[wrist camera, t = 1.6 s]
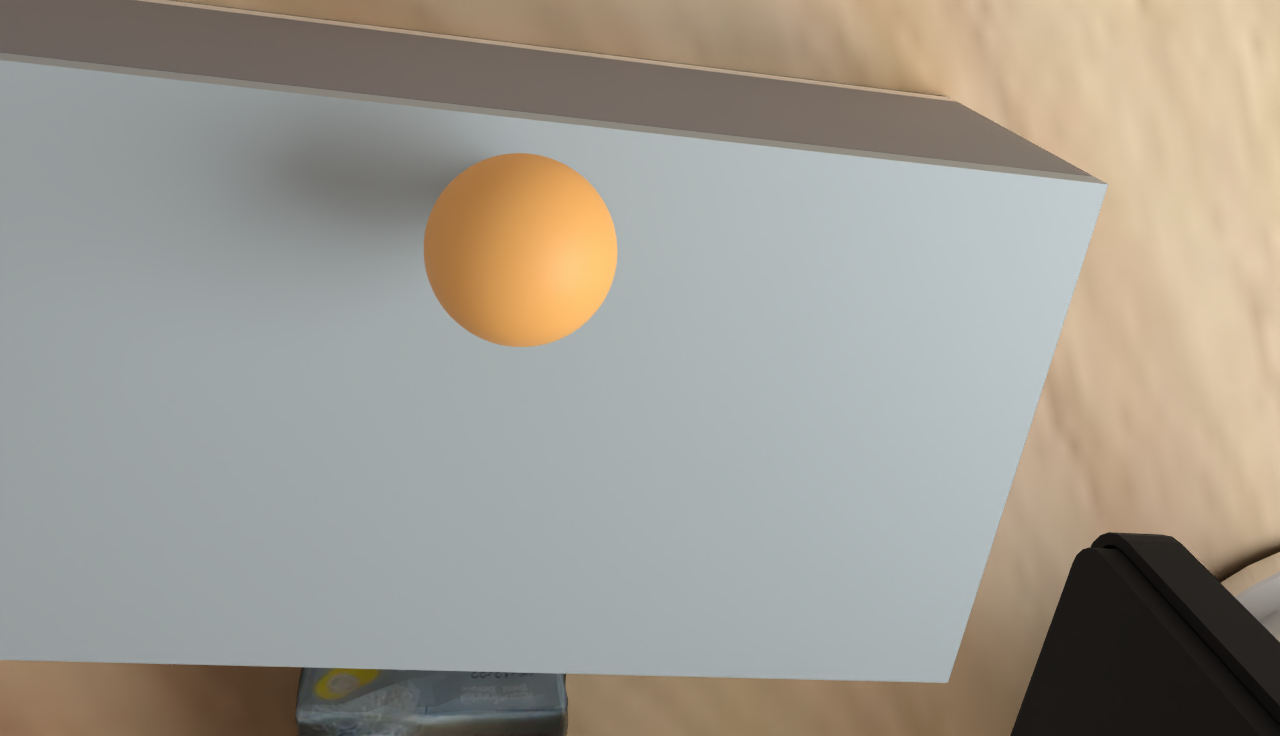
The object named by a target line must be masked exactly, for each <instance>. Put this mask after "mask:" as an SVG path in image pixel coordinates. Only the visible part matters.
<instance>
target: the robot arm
mask: <svg viewBox="0 0 1280 736" xmlns="http://www.w3.org/2000/svg"><path fill="white" fill-rule="evenodd" d="M1011 736H1280V552H1278V553H1276V554H1274V555H1271V556H1269V557H1267V558H1264V559H1262V560H1260V561H1258V562H1255V563H1253V564H1251V565H1249V566H1247V567H1245V568H1244V569H1242V570H1240V571H1239V572H1237V573H1235V574H1234V575H1232V576H1230V577H1229V578H1227V579H1225V580H1224V581H1222V582H1221V583H1220V582H1219V581H1218V580H1217V579H1216V578H1215V577H1214V576H1213V575H1212V574H1211V573H1210V572H1209V571H1208V570H1207V569H1206V568H1205V567H1204V566H1203V565H1202V564H1201V563H1200V562H1199V561H1198V560H1197V559H1196V558H1195V557H1194V556H1193V555H1192V554H1191V553H1190V552H1189V551H1188V550H1187V549H1186V548H1185V547H1184V546H1183V545H1182V544H1181V543H1180V542H1178V541H1177V540H1176V539H1174V538H1173V537H1171V536H1166V535H1155V534H1132V533H1110V532H1109V533H1106V534H1103V535H1100V536H1099V537H1098V538H1097V539H1096V540H1095V541H1094V542H1093V544H1092V545H1091V547H1090V548H1086V549H1083V550H1082V551H1080V552H1079V553H1078V554H1077V556H1076V558H1075V560H1074V562H1073V564H1072V567H1071V569H1070V572H1069V575H1068V578H1067V580H1066V583H1065V586H1064V589H1063V592H1062V594H1061V597H1060V600H1059V603H1058V605H1057V608H1056V611H1055V614H1054V616H1053V619H1052V622H1051V625H1050V628H1049V630H1048V633H1047V636H1046V639H1045V641H1044V644H1043V647H1042V650H1041V653H1040V655H1039V658H1038V661H1037V664H1036V666H1035V669H1034V672H1033V675H1032V677H1031V680H1030V683H1029V686H1028V689H1027V691H1026V694H1025V697H1024V700H1023V702H1022V705H1021V708H1020V711H1019V713H1018V716H1017V719H1016V722H1015V725H1014V727H1013V730H1012V733H1011Z"/></svg>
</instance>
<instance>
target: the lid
mask: <svg viewBox="0 0 1280 736" xmlns="http://www.w3.org/2000/svg"><path fill="white" fill-rule="evenodd" d="M1107 187H1108V184H1106V183H1105V182H1103V181H1101V180H1099V179H1097V178H1095V177H1093V176H1084V175H1075V174H1067V173H1058V172H1049V171H1040V170H1031V169H1023V168H1014V167H1005V166H996V165H987V164H978V163H970V162H961V161H952V160H943V159H934V158H926V157H917V156H908V155H899V154H890V153H881V152H873V151H864V150H855V149H846V148H837V147H829V146H820V145H811V144H802V143H793V142H784V141H776V140H767V139H758V138H749V137H740V136H732V135H723V134H714V133H705V132H696V131H687V130H679V129H670V128H661V127H652V126H643V125H635V124H626V123H617V122H608V121H599V120H591V119H582V118H573V117H564V116H555V115H546V114H538V113H529V112H520V111H511V110H502V109H494V108H485V107H476V106H467V105H458V104H449V103H441V102H432V101H423V100H414V99H405V98H397V97H388V96H379V95H370V94H361V93H352V92H344V91H335V90H326V89H317V88H308V87H300V86H291V85H282V84H273V83H264V82H255V81H247V80H238V79H229V78H220V77H211V76H203V75H194V74H185V73H176V72H167V71H158V70H150V69H141V68H132V67H123V66H114V65H106V64H97V63H88V62H79V61H70V60H61V59H53V58H44V57H35V56H26V55H17V54H9V53H0V660H23V661H64V662H106V663H147V664H188V665H229V666H271V667H312V668H353V669H394V670H436V671H477V672H518V673H560V674H601V675H642V676H683V677H725V678H766V679H807V680H848V681H890V682H931V683H948V681H949V677H950V674H951V671H952V668H953V665H954V662H955V659H956V656H957V653H958V650H959V646H960V643H961V640H962V637H963V634H964V631H965V628H966V625H967V622H968V618H969V615H970V612H971V609H972V606H973V603H974V600H975V597H976V594H977V590H978V587H979V584H980V581H981V578H982V575H983V572H984V569H985V566H986V563H987V559H988V556H989V553H990V550H991V547H992V544H993V541H994V538H995V535H996V531H997V528H998V525H999V522H1000V519H1001V516H1002V513H1003V510H1004V507H1005V503H1006V500H1007V497H1008V494H1009V491H1010V488H1011V485H1012V482H1013V479H1014V476H1015V472H1016V469H1017V466H1018V463H1019V460H1020V457H1021V454H1022V451H1023V448H1024V444H1025V441H1026V438H1027V435H1028V432H1029V429H1030V426H1031V423H1032V420H1033V416H1034V413H1035V410H1036V407H1037V404H1038V401H1039V398H1040V395H1041V392H1042V389H1043V385H1044V382H1045V379H1046V376H1047V373H1048V370H1049V367H1050V364H1051V361H1052V357H1053V354H1054V351H1055V348H1056V345H1057V342H1058V339H1059V336H1060V333H1061V329H1062V326H1063V323H1064V320H1065V317H1066V314H1067V311H1068V308H1069V305H1070V302H1071V298H1072V295H1073V292H1074V289H1075V286H1076V283H1077V280H1078V277H1079V274H1080V270H1081V267H1082V264H1083V261H1084V258H1085V255H1086V252H1087V249H1088V246H1089V242H1090V239H1091V236H1092V233H1093V230H1094V227H1095V224H1096V221H1097V218H1098V215H1099V211H1100V208H1101V205H1102V202H1103V199H1104V196H1105V193H1106V190H1107Z"/></svg>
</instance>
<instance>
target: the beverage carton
mask: <svg viewBox="0 0 1280 736" xmlns="http://www.w3.org/2000/svg"><path fill="white" fill-rule="evenodd" d="M565 677H566V674H560V673H518V672H477V671H436V670H394V669H353V668H312V667H302V672H301V675H300V679H299V686H298V694H297V702H296V712H295V715H296V723H297V731H298V736H567V728H568V711H567V706H568V698H567V694H566V690H565Z"/></svg>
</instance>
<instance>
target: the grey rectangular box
mask: <svg viewBox="0 0 1280 736" xmlns="http://www.w3.org/2000/svg"><path fill="white" fill-rule="evenodd" d="M0 53H9V54H17V55H26V56H35V57H44V58H53V59H61V60H70V61H79V62H88V63H97V64H106V65H114V66H123V67H132V68H141V69H150V70H158V71H167V72H176V73H185V74H194V75H203V76H211V77H220V78H229V79H238V80H247V81H255V82H264V83H273V84H282V85H291V86H300V87H308V88H317V89H326V90H335V91H344V92H352V93H361V94H370V95H379V96H388V97H397V98H405V99H414V100H423V101H432V102H441V103H449V104H458V105H467V106H476V107H485V108H494V109H502V110H511V111H520V112H529V113H538V114H546V115H555V116H564V117H573V118H582V119H591V120H599V121H608V122H617V123H626V124H635V125H643V126H652V127H661V128H670V129H679V130H687V131H696V132H705V133H714V134H723V135H732V136H740V137H749V138H758V139H767V140H776V141H784V142H793V143H802V144H811V145H820V146H829V147H837V148H846V149H855V150H864V151H873V152H881V153H890V154H899V155H908V156H917V157H926V158H934V159H943V160H952V161H961V162H970V163H978V164H987V165H996V166H1005V167H1014V168H1023V169H1031V170H1040V171H1049V172H1058V173H1067V174H1075V175H1084V176H1092V175H1090V174H1088V173H1086V172H1084V171H1083V170H1081V169H1079V168H1077V167H1075V166H1073V165H1072V164H1070V163H1068V162H1066V161H1064V160H1063V159H1061V158H1059V157H1057V156H1055V155H1053V154H1052V153H1050V152H1048V151H1046V150H1044V149H1042V148H1041V147H1039V146H1037V145H1035V144H1033V143H1031V142H1030V141H1028V140H1026V139H1024V138H1022V137H1020V136H1019V135H1017V134H1015V133H1013V132H1011V131H1010V130H1008V129H1006V128H1004V127H1002V126H1000V125H999V124H997V123H995V122H993V121H991V120H989V119H988V118H986V117H984V116H982V115H980V114H978V113H977V112H975V111H973V110H971V109H969V108H968V107H966V106H964V105H962V104H960V103H958V102H957V101H955V100H953V99H951V98H949V97H943V96H935V95H927V94H919V93H911V92H903V91H895V90H887V89H879V88H871V87H863V86H855V85H847V84H839V83H831V82H823V81H815V80H807V79H798V78H790V77H782V76H774V75H766V74H758V73H750V72H742V71H734V70H726V69H718V68H710V67H702V66H694V65H686V64H678V63H670V62H662V61H653V60H645V59H637V58H629V57H621V56H613V55H605V54H597V53H589V52H581V51H573V50H565V49H557V48H549V47H541V46H533V45H525V44H517V43H509V42H500V41H492V40H484V39H476V38H468V37H460V36H452V35H444V34H436V33H428V32H420V31H412V30H404V29H396V28H388V27H380V26H372V25H364V24H355V23H347V22H339V21H331V20H323V19H315V18H307V17H299V16H291V15H283V14H275V13H267V12H259V11H251V10H243V9H235V8H227V7H219V6H211V5H202V4H194V3H186V2H178V1H170V0H0Z"/></svg>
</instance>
